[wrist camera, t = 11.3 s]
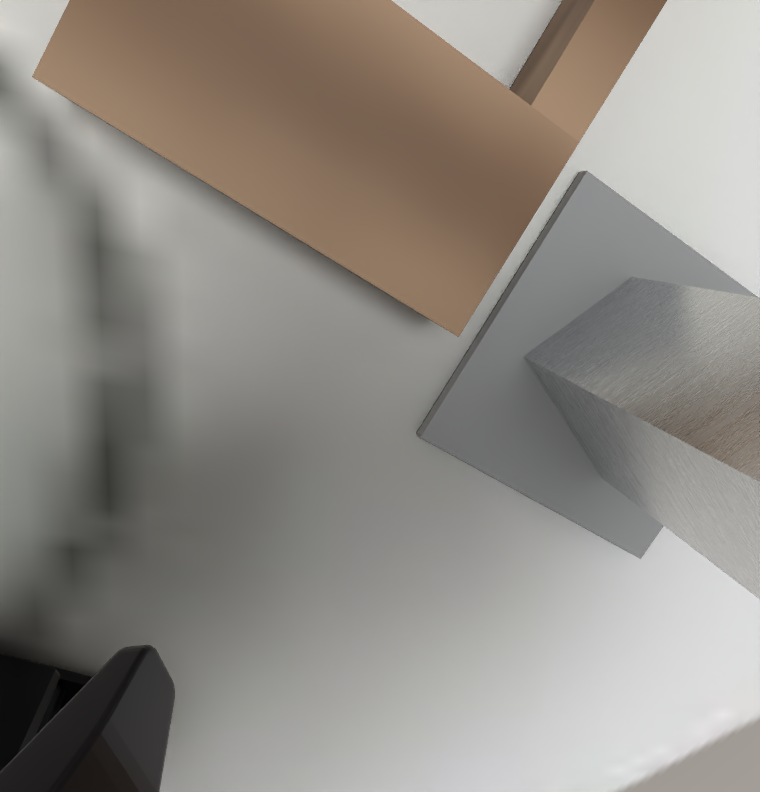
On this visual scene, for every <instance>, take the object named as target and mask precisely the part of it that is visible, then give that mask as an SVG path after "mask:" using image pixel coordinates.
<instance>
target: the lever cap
mask: <svg viewBox="0 0 760 792" xmlns="http://www.w3.org/2000/svg"><path fill="white" fill-rule="evenodd" d="M523 357H524V358H525V360H526V361H527V363H528V364H529V366H530V368H531V369H532V371H533V372H534V374H535V375H536V377H537V378H538V380H539V382H540V383H541V385H542V386H543V388H544V389H545V391H546V392H547V394H548V396H549V397H550V399H551V400H552V402H553V403H554V405H555V406H556V408H557V409H558V411H559V413H560V414H561V416H562V417H563V419H564V420H565V422H566V423H567V425H568V427H569V428H570V430H571V431H572V433H573V434H574V436H575V437H576V439H577V441H578V442H579V444H580V445H581V447H582V448H583V450H584V451H585V453H586V455H587V456H588V458H589V459H590V461H591V462H592V464H593V465H594V467H595V469H596V470H597V472H598V473H599V475H600V476H601V478H602V479H603V480H605V481H606V482H607V483H609V484H610V485H611V486H613V487H614V488H615V489H616V490H618V491H619V492H620V493H622V494H623V495H624V496H626V497H627V498H628V499H629V500H631V501H632V502H633V503H635V504H636V505H637V506H639V507H640V508H641V509H643V510H644V511H645V512H646V513H648V514H649V515H650V516H652V517H653V518H654V519H656V520H657V521H658V522H660V523H661V524H662V525H663V526H665V527H666V528H667V529H669V530H670V531H671V532H673V533H674V534H675V535H676V536H678V537H679V538H680V539H682V540H683V541H684V542H686V543H687V544H688V545H690V546H691V547H692V548H693V549H695V550H696V551H697V552H699V553H700V554H701V555H703V556H704V557H705V558H707V559H708V560H709V561H710V562H712V563H713V564H714V565H716V566H717V567H718V568H720V569H721V570H722V571H723V572H725V573H726V574H727V575H729V576H730V577H731V578H733V579H734V580H735V581H737V582H738V583H739V584H740V585H742V586H743V587H744V588H746V589H747V590H748V591H750V592H751V593H752V594H754V595H755V596H756V597H757V598H759V599H760V298H759V297H753V296H747V295H741V294H735V293H729V292H722V291H716V290H710V289H704V288H698V287H692V286H686V285H679V284H673V283H667V282H661V281H655V280H649V279H643V278H636V277H631V278H630V279H628V280H627V281H625V282H624V283H623V284H621V285H620V286H619V287H617V288H616V289H615V290H613V291H612V292H610V293H609V294H608V295H606V296H605V297H604V298H602V299H601V300H600V301H598V302H597V303H595V304H594V305H593V306H591V307H590V308H589V309H587V310H586V311H585V312H583V313H582V314H580V315H579V316H578V317H576V318H575V319H574V320H572V321H571V322H570V323H568V324H567V325H565V326H564V327H563V328H561V329H560V330H559V331H557V332H556V333H555V334H553V335H552V336H550V337H549V338H548V339H546V340H545V341H544V342H542V343H541V344H540V345H538V346H537V347H536V348H534V349H533V350H531V351H530V352H529V353H527V354H526V355H525V356H523Z"/></svg>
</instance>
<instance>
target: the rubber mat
mask: <svg viewBox="0 0 760 792" xmlns="http://www.w3.org/2000/svg"><path fill="white" fill-rule="evenodd" d="M631 277H636V278H643V279H649V280H655V281H661V282H667V283H673V284H679V285H686V286H692V287H698V288H704V289H710V290H716V291H722V292H729V293H735V294H741V295H747V296H753V297H757V296H755V295H754V294H753V293H751V292H750V291H749V290H747V289H746V288H745V287H743V286H742V285H741V284H739V283H738V282H736V281H735V280H734V279H732V278H731V277H730V276H728V275H727V274H726V273H724V272H723V271H722V270H720V269H719V268H718V267H716V266H715V265H714V264H712V263H711V262H709V261H708V260H707V259H705V258H704V257H703V256H701V255H700V254H699V253H697V252H696V251H695V250H693V249H692V248H691V247H689V246H688V245H686V244H685V243H684V242H682V241H681V240H680V239H678V238H677V237H676V236H674V235H673V234H672V233H670V232H669V231H668V230H666V229H665V228H664V227H662V226H661V225H659V224H658V223H657V222H655V221H654V220H653V219H651V218H650V217H649V216H647V215H646V214H645V213H643V212H642V211H641V210H639V209H638V208H637V207H635V206H634V205H632V204H631V203H630V202H628V201H627V200H626V199H624V198H623V197H622V196H620V195H619V194H618V193H616V192H615V191H614V190H612V189H611V188H610V187H608V186H607V185H605V184H604V183H603V182H601V181H600V180H599V179H597V178H596V177H595V176H593V175H592V174H591V173H589V172H588V171H583V172H579V173H578V175H577V176H576V178H575V180H574V181H573V183H572V184H571V186H570V188H569V189H568V191H567V192H566V194H565V196H564V197H563V199H562V200H561V202H560V204H559V205H558V207H557V209H556V210H555V212H554V213H553V215H552V217H551V218H550V220H549V221H548V223H547V225H546V226H545V228H544V229H543V231H542V233H541V234H540V236H539V237H538V239H537V241H536V242H535V244H534V245H533V247H532V249H531V250H530V252H529V253H528V255H527V257H526V258H525V260H524V261H523V263H522V265H521V266H520V268H519V269H518V271H517V273H516V274H515V276H514V277H513V279H512V281H511V282H510V284H509V286H508V287H507V289H506V290H505V292H504V294H503V295H502V297H501V298H500V300H499V302H498V303H497V305H496V306H495V308H494V310H493V311H492V313H491V314H490V316H489V318H488V319H487V321H486V322H485V324H484V326H483V327H482V329H481V330H480V332H479V334H478V335H477V337H476V338H475V340H474V342H473V343H472V345H471V346H470V348H469V350H468V351H467V353H466V354H465V356H464V358H463V359H462V361H461V363H460V364H459V366H458V367H457V369H456V371H455V372H454V374H453V375H452V377H451V379H450V380H449V382H448V383H447V385H446V387H445V388H444V390H443V391H442V393H441V395H440V396H439V398H438V399H437V401H436V403H435V404H434V406H433V407H432V409H431V411H430V412H429V414H428V415H427V417H426V419H425V420H424V422H423V423H422V425H421V427H420V428H419V430H418V431H417V434H418V435H419V437H420V438H422V439H423V440H425V441H427V442H429V443H431V444H432V445H434V446H436V447H438V448H440V449H442V450H443V451H445V452H447V453H449V454H451V455H452V456H454V457H456V458H458V459H460V460H462V461H463V462H465V463H467V464H469V465H471V466H473V467H474V468H476V469H478V470H480V471H482V472H483V473H485V474H487V475H489V476H491V477H493V478H494V479H496V480H498V481H500V482H502V483H503V484H505V485H507V486H509V487H511V488H513V489H514V490H516V491H518V492H520V493H522V494H524V495H525V496H527V497H529V498H531V499H533V500H534V501H536V502H538V503H540V504H542V505H544V506H545V507H547V508H549V509H551V510H553V511H554V512H556V513H558V514H560V515H562V516H564V517H565V518H567V519H569V520H571V521H573V522H575V523H576V524H578V525H580V526H582V527H584V528H585V529H587V530H589V531H591V532H593V533H595V534H596V535H598V536H600V537H602V538H604V539H605V540H607V541H609V542H611V543H613V544H615V545H616V546H618V547H620V548H622V549H624V550H626V551H627V552H629V553H631V554H633V555H635V556H636V557H638V558H640V559H641V557H642V556H643V555H644V553H645V552H646V550H647V549H648V547H649V546H650V544H651V543H652V542H653V540H654V539H655V537H656V536H657V534H658V533H659V532H660V530H661V529H662V527H663V525H662V524H661V523H660V522H658V521H657V520H656V519H654V518H653V517H652V516H650V515H649V514H648V513H646V512H645V511H644V510H643V509H641V508H640V507H639V506H637V505H636V504H635V503H633V502H632V501H631V500H629V499H628V498H627V497H626V496H624V495H623V494H622V493H620V492H619V491H618V490H616V489H615V488H614V487H613V486H611V485H610V484H609V483H607V482H606V481H605V480H603V479H602V478H601V476H600V475H599V473H598V472H597V470H596V469H595V467H594V465H593V464H592V462H591V461H590V459H589V458H588V456H587V455H586V453H585V451H584V450H583V448H582V447H581V445H580V444H579V442H578V441H577V439H576V437H575V436H574V434H573V433H572V431H571V430H570V428H569V427H568V425H567V423H566V422H565V420H564V419H563V417H562V416H561V414H560V413H559V411H558V409H557V408H556V406H555V405H554V403H553V402H552V400H551V399H550V397H549V396H548V394H547V392H546V391H545V389H544V388H543V386H542V385H541V383H540V382H539V380H538V378H537V377H536V375H535V374H534V372H533V371H532V369H531V368H530V366H529V364H528V363H527V361H526V360H525V358H524V357H523V356H525V355H526V354H527V353H529V352H530V351H531V350H533V349H534V348H536V347H537V346H538V345H540V344H541V343H542V342H544V341H545V340H546V339H548V338H549V337H550V336H552V335H553V334H555V333H556V332H557V331H559V330H560V329H561V328H563V327H564V326H565V325H567V324H568V323H570V322H571V321H572V320H574V319H575V318H576V317H578V316H579V315H580V314H582V313H583V312H585V311H586V310H587V309H589V308H590V307H591V306H593V305H594V304H595V303H597V302H598V301H600V300H601V299H602V298H604V297H605V296H606V295H608V294H609V293H610V292H612V291H613V290H615V289H616V288H617V287H619V286H620V285H621V284H623V283H624V282H625V281H627V280H628V279H630V278H631Z"/></svg>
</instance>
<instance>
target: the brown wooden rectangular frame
mask: <svg viewBox="0 0 760 792" xmlns="http://www.w3.org/2000/svg"><path fill="white" fill-rule="evenodd" d="M666 1H667V0H563V1H562V3H561V4H560V6H559V8H558V9H557V11H556V13H555V14H554V16H553V18H552V19H551V21H550V23H549V24H548V26H547V28H546V29H545V31H544V33H543V34H542V36H541V38H540V39H539V41H538V43H537V44H536V46H535V48H534V49H533V51H532V53H531V54H530V56H529V58H528V59H527V61H526V63H525V65H524V66H523V68H522V70H521V71H520V73H519V75H518V76H517V78H516V80H515V81H514V83H513V85H512V86H511V88H510V90H509V89H508V88H507V87H506V86H504V85H503V84H502V83H500V82H499V81H498V80H496V79H495V78H494V77H492V76H491V75H490V74H488V73H487V72H486V71H484V70H483V69H482V68H480V67H479V66H478V65H476V64H475V63H474V62H472V61H471V60H470V59H468V58H467V57H466V56H464V55H463V54H462V53H460V52H459V51H458V50H456V49H455V48H454V47H452V46H451V45H450V44H448V43H447V42H446V41H444V40H443V39H442V38H440V37H439V36H438V35H436V34H435V33H434V32H432V31H431V30H430V29H428V28H427V27H426V26H424V25H423V24H422V23H420V22H419V21H418V20H416V19H415V18H414V17H413V16H411V15H410V14H409V13H407V12H406V11H405V10H403V9H402V8H401V7H399V6H398V5H397V4H395V3H394V2H393V1H391V0H70V1H69V3H68V5H67V7H66V9H65V11H64V13H63V15H62V17H61V19H60V21H59V23H58V25H57V27H56V29H55V31H54V33H53V36H52V38H51V40H50V42H49V44H48V46H47V48H46V50H45V52H44V54H43V56H42V58H41V60H40V62H39V64H38V66H37V68H36V70H35V72H34V74H33V76H32V77H33V78H35V79H36V80H38V81H40V82H41V83H43V84H45V85H46V86H48V87H49V88H51V89H53V90H54V91H56V92H58V93H59V94H61V95H63V96H64V97H66V98H67V99H69V100H71V101H72V102H74V103H76V104H77V105H79V106H81V107H82V108H84V109H85V110H87V111H89V112H90V113H92V114H94V115H95V116H97V117H99V118H100V119H102V120H103V121H105V122H107V123H108V124H110V125H112V126H113V127H115V128H117V129H118V130H120V131H122V132H123V133H125V134H126V135H128V136H130V137H131V138H133V139H135V140H136V141H138V142H140V143H141V144H143V145H144V146H146V147H148V148H149V149H151V150H153V151H154V152H156V153H158V154H159V155H161V156H163V157H164V158H166V159H167V160H169V161H171V162H172V163H174V164H176V165H177V166H179V167H181V168H182V169H184V170H185V171H187V172H189V173H190V174H192V175H194V176H195V177H197V178H199V179H200V180H202V181H203V182H205V183H207V184H208V185H210V186H212V187H213V188H215V189H217V190H218V191H220V192H222V193H223V194H225V195H226V196H228V197H230V198H231V199H233V200H235V201H236V202H238V203H240V204H241V205H243V206H244V207H246V208H248V209H249V210H251V211H253V212H254V213H256V214H258V215H259V216H261V217H263V218H264V219H266V220H267V221H269V222H271V223H272V224H274V225H276V226H277V227H279V228H281V229H282V230H284V231H285V232H287V233H289V234H290V235H292V236H294V237H295V238H297V239H299V240H300V241H302V242H304V243H305V244H307V245H308V246H310V247H312V248H313V249H315V250H317V251H318V252H320V253H322V254H323V255H325V256H326V257H328V258H330V259H331V260H333V261H335V262H336V263H338V264H340V265H341V266H343V267H345V268H346V269H348V270H349V271H351V272H353V273H354V274H356V275H358V276H359V277H361V278H363V279H364V280H366V281H367V282H369V283H371V284H372V285H374V286H376V287H377V288H379V289H381V290H382V291H384V292H386V293H387V294H389V295H390V296H392V297H394V298H395V299H397V300H399V301H400V302H402V303H404V304H405V305H407V306H408V307H410V308H412V309H413V310H415V311H417V312H418V313H420V314H422V315H423V316H425V317H427V318H428V319H430V320H431V321H433V322H435V323H436V324H438V325H440V326H441V327H443V328H445V329H446V330H448V331H450V332H451V333H453V334H454V335H456V336H458V337H459V335H460V334H461V332H462V331H463V329H464V327H465V326H466V324H467V323H468V321H469V319H470V318H471V316H472V315H473V313H474V311H475V310H476V308H477V306H478V305H479V303H480V302H481V300H482V298H483V297H484V295H485V294H486V292H487V290H488V289H489V287H490V285H491V284H492V282H493V281H494V279H495V277H496V276H497V274H498V273H499V271H500V269H501V268H502V266H503V264H504V263H505V261H506V260H507V258H508V256H509V255H510V253H511V252H512V250H513V248H514V247H515V245H516V243H517V242H518V240H519V239H520V237H521V235H522V234H523V232H524V231H525V229H526V227H527V226H528V224H529V222H530V221H531V219H532V218H533V216H534V214H535V213H536V211H537V210H538V208H539V206H540V205H541V203H542V201H543V200H544V198H545V197H546V195H547V193H548V192H549V190H550V189H551V187H552V185H553V184H554V182H555V180H556V179H557V177H558V176H559V174H560V172H561V171H562V169H563V168H564V166H565V164H566V163H567V161H568V160H569V158H570V156H571V155H572V153H573V151H574V150H575V148H576V147H577V145H578V143H579V142H580V140H581V139H582V137H583V135H584V134H585V132H586V130H587V129H588V127H589V126H590V124H591V122H592V121H593V119H594V118H595V116H596V114H597V113H598V111H599V109H600V108H601V106H602V105H603V103H604V101H605V100H606V98H607V97H608V95H609V93H610V92H611V90H612V88H613V87H614V85H615V84H616V82H617V80H618V79H619V77H620V76H621V74H622V72H623V71H624V69H625V67H626V66H627V64H628V63H629V61H630V59H631V58H632V56H633V55H634V53H635V51H636V50H637V48H638V46H639V45H640V43H641V42H642V40H643V38H644V37H645V35H646V34H647V32H648V30H649V29H650V27H651V25H652V24H653V22H654V21H655V19H656V17H657V16H658V14H659V13H660V11H661V9H662V8H663V6H664V5H665V3H666Z"/></svg>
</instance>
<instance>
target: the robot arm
mask: <svg viewBox="0 0 760 792" xmlns="http://www.w3.org/2000/svg"><path fill="white" fill-rule="evenodd" d="M174 699H175V690H174V684H173V681H172V679H171V677H170V675H169V673H168V671H167V669H166V667H165V666H164V664H163V662H162V660H161V658H160V656H159V654H158V653H157V651H156V649H155V648H153V647H152V646H150V645H142V646H130V647H125V648H123V649H121V650H119V651H118V652H117V653H116V654H115V655H114V656H113V657H112V658H111V659H110V660H109V661H108V662H107V663H106V664H105V665H104V666H103V667H102V668H101V669H100V670H99V671H98V672H97V673H96V674H95V675H94V676H93V677H89V676H85V675H81V674H77V673H73V672H70V671H66V670H62V669H58V668H54V667H51V666H47V665H43V664H39V663H35V662H31V661H27V660H23V659H20V658H16V657H12V656H8V655H4V654H0V792H159V790H160V784H161V778H162V772H163V766H164V760H165V754H166V748H167V742H168V736H169V730H170V724H171V718H172V712H173V705H174Z"/></svg>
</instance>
